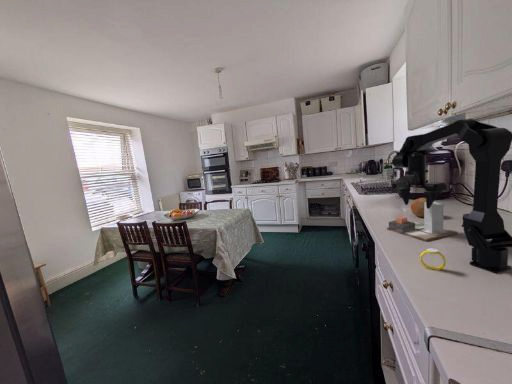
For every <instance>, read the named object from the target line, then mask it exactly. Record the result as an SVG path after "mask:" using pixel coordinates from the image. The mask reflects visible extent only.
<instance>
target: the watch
mask: <svg viewBox="0 0 512 384" xmlns="http://www.w3.org/2000/svg"><path fill="white" fill-rule="evenodd" d="M426 254H430V255H438V256H440V257H441V258H442V260H443V262H442V264H441V265H440V266H432V265H427V264H426V263H425V262H424V260H423V256H425V255H426ZM419 259H420V263H421V265H422V266H423V267H425V268H426V269H430V270H435V271H440V270H442V269H444V268H445V267H446V264H447V263H446V257H445V256H444V254H443V253H441V252H440V251H439V250H438V249H436V248H431V247H430V248H427V249H426V250H424V251H423V252H421V254H420V257H419Z"/></svg>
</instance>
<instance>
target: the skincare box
mask: <svg viewBox="0 0 512 384" xmlns="http://www.w3.org/2000/svg"><path fill="white" fill-rule="evenodd" d="M423 219H424V222H423V224H424V229H426V230H427V231H429V232H431V233H443V228H444V204H443V203H440V202H437V201H434V202H433V204H432V205H431V207H430V208H429V209H427V206H426V202H424V217H423Z"/></svg>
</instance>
